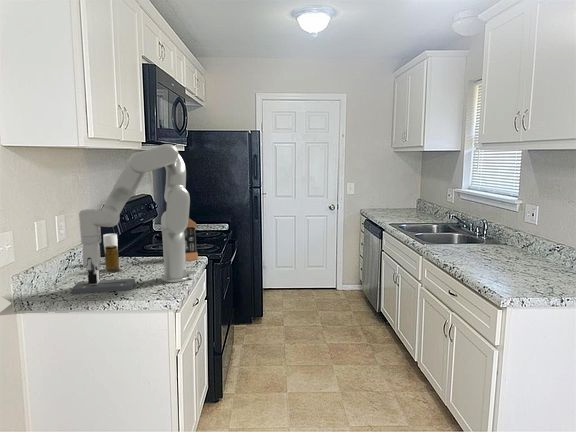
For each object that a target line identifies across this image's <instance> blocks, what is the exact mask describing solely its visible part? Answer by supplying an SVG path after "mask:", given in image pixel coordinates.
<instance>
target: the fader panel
mask: <svg viewBox="0 0 576 432" xmlns="http://www.w3.org/2000/svg"><path fill="white" fill-rule="evenodd" d="M135 284H136V278H121V279H120V278H118V279H116V278H115V279H103V280H101V279H100V280H99V283H98V284H97V285H89V284H88V280H86V281H84V280H83V281H78V282H76V283H75V285H74V286H73V287H71V289H70V290H71V294H72V295H73V294H75V295H76V294H86V293H87V294H89V293H90V294H91V293H103V292H106V293H107V292H117V291H119V292H121V291H132V290H133V289H134V287H135Z"/></svg>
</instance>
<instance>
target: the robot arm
mask: <svg viewBox="0 0 576 432" xmlns="http://www.w3.org/2000/svg"><path fill="white" fill-rule="evenodd" d="M161 168H165V187H164V195H163V197H164V201H165V202H166V210H165V211H164V212H163V213H162V215H161V217H160V218H161V219H160V226H161V235H162V251H163V253H162V254H163V273H164V274H163V275H161V276H160V280H161V282H165V283H179V282H184V281H187V280H189V279H190V277H191V276H190V275H196V274H197V270H196V269H193V268H191V269H189V268H188V267H187V265H186V260H185V236H184V230H185V229H186V228H187V225H188V218H190V216H189V212H190V206H191V197H190V192H189V191H188V190H187V189H186V186H187V185H186V183H187V170H186V169H187V168H186V164H185V162H184V159H183V158H182V156H181V155H180V153H179V150H178V148H177V147H176V146H174V144H173V145H172V144H170V143H164V144H160V145H159V146H156V147H154V148H150V149H146V150H143V151H138V152H134V153H131V154H130V157H129V158H128V160H127V162H126V164H125V165H124V167H123V169H122V171H121V173H120V174H119V176H118V179H117V180H116V181H115V184H114V185H113V188H112V190H111V192H110V193H109V195H108V197H107V199H106V200H105V203H104V205H103V206H102V207H101V209H99V210H98V209H96V208H88V209H87V208H86V209H82V210H80V211H79V212H78V217H79V218H78V219H79V228H80V229H79V232H80V242H81V243H80V244H81V245H82V267H83V269H86V271H87V281H88V284H96V283H97V275H96V272H95V270H99V271H100V266H99V265H100V263H101V247H100V244H101V243H102V234H101V231H102V230H101V227H102V228H103V227H104V228H105V227H106V228H111V227H115V226H116V225H118V224H119V222H120V220H121V219H120V218H121V217H120V214H121V212H122V211H123V210H124V209H123V208H124V207H125V206H126V203H127V202H128V201H129V199H130V198H131V197H133V196H134V194H135V193H136V192H137V190H138V188H139V187H140V186H139V185H140V184H141V183H142V180H143V178H144V176H145V175H146V173H149V172H152V171H155V170H159V169H161ZM100 273H101V272H99V281H100V280H101V275H100Z"/></svg>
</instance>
